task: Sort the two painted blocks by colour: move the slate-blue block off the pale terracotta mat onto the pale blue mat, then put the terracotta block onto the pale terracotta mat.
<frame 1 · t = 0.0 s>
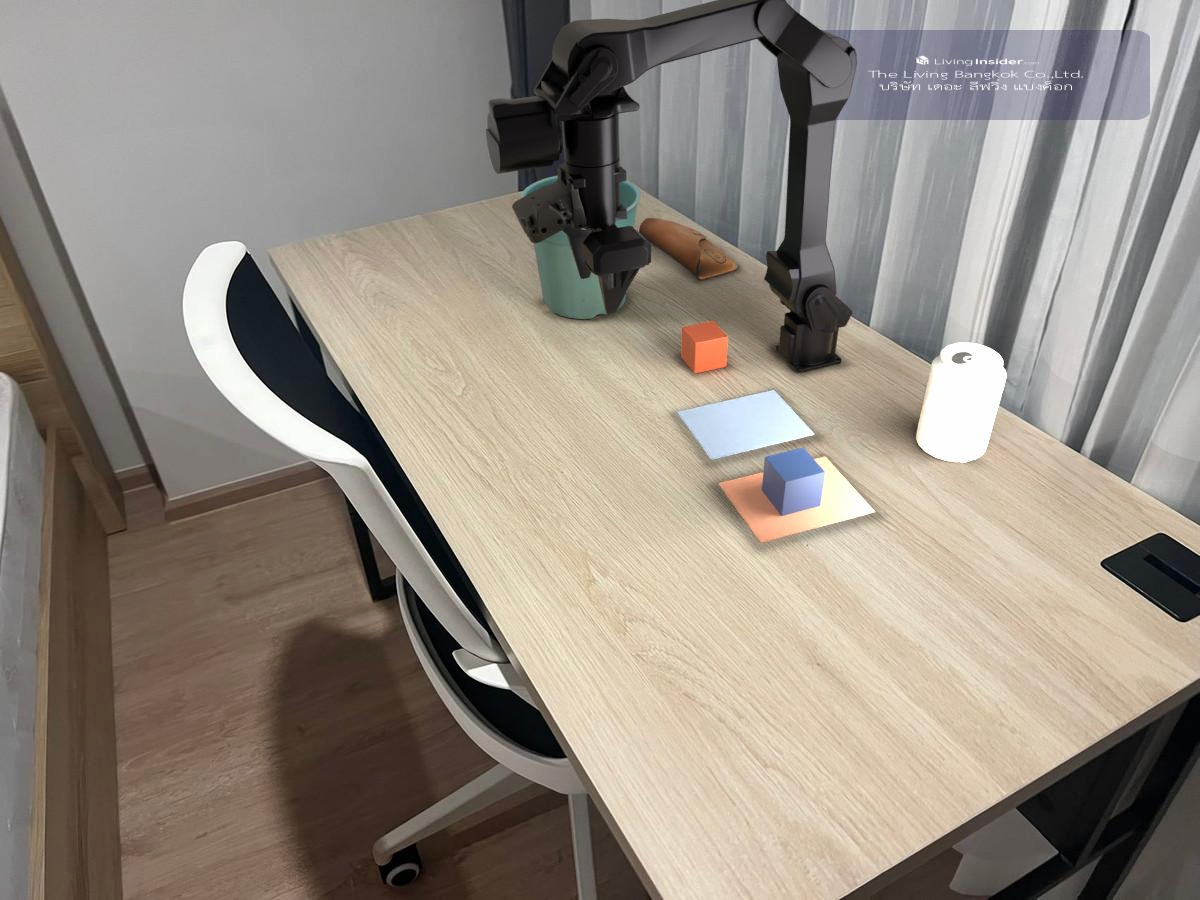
hand: (597, 295, 102), 15 cm above the table, tool pointing down, fingers open, 9 cm apart
blue mat: (743, 426, 105), on the table
sunglasses case: (687, 255, 143), on the table
can: (948, 448, 101), on the table
flower pot: (585, 301, 132), on the table
terracotta mat: (794, 501, 94), on the table
blue block: (790, 497, 94), point 1 cm above the table, touching terracotta mat
terracotta block: (703, 361, 117), on the table
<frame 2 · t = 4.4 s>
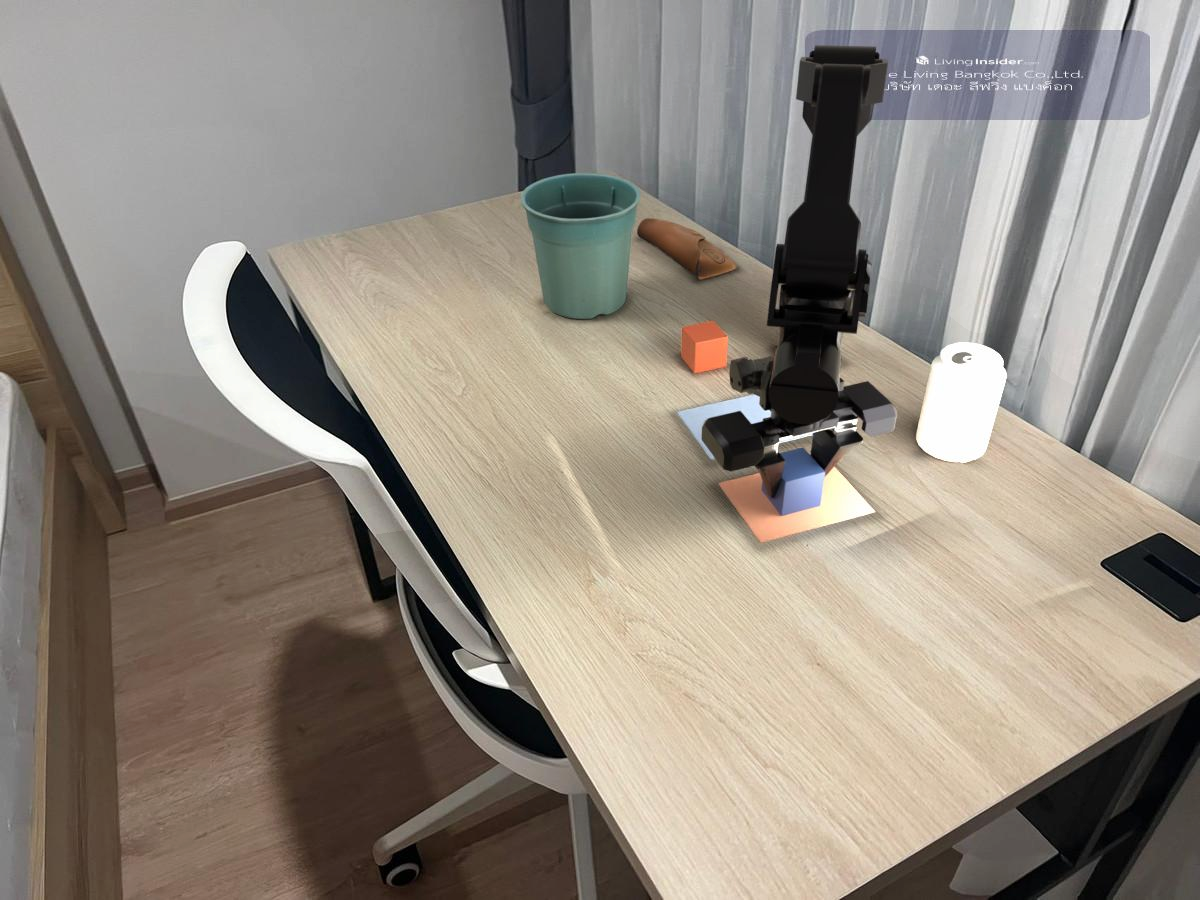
hand: (791, 490, 93), 2 cm above the table, tool pointing down, fingers closed on blue block, 4 cm apart
blue block: (790, 498, 94), point 1 cm above the table, touching gripper, terracotta mat
everything else where it was.
when the fingers open (2 cm above the table, at t = 9.5 s): blue block stays where it is, resting on blue mat.
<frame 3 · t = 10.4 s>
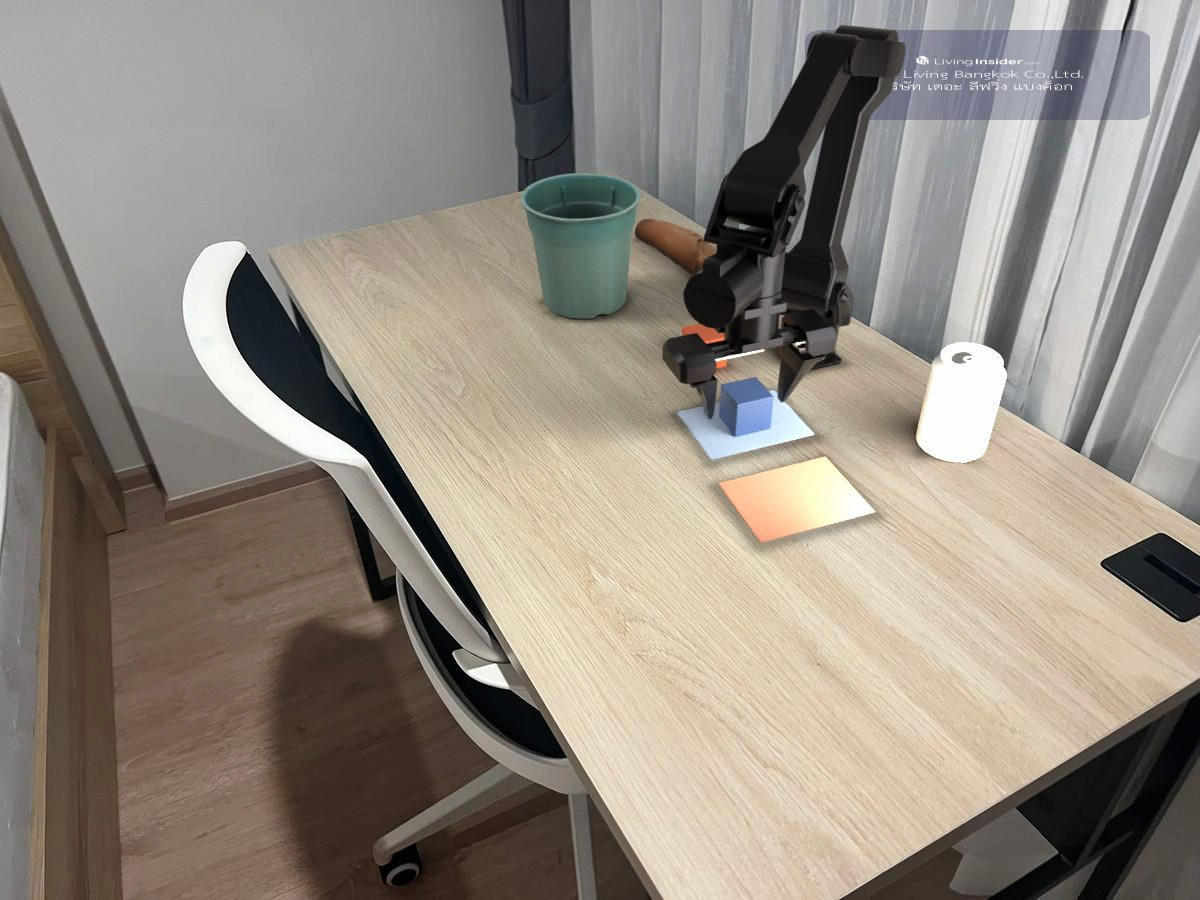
hand: (745, 408, 104), 3 cm above the table, tool pointing down, fingers open, 9 cm apart
blue block: (744, 422, 105), point 1 cm above the table, touching blue mat
everything else where it was.
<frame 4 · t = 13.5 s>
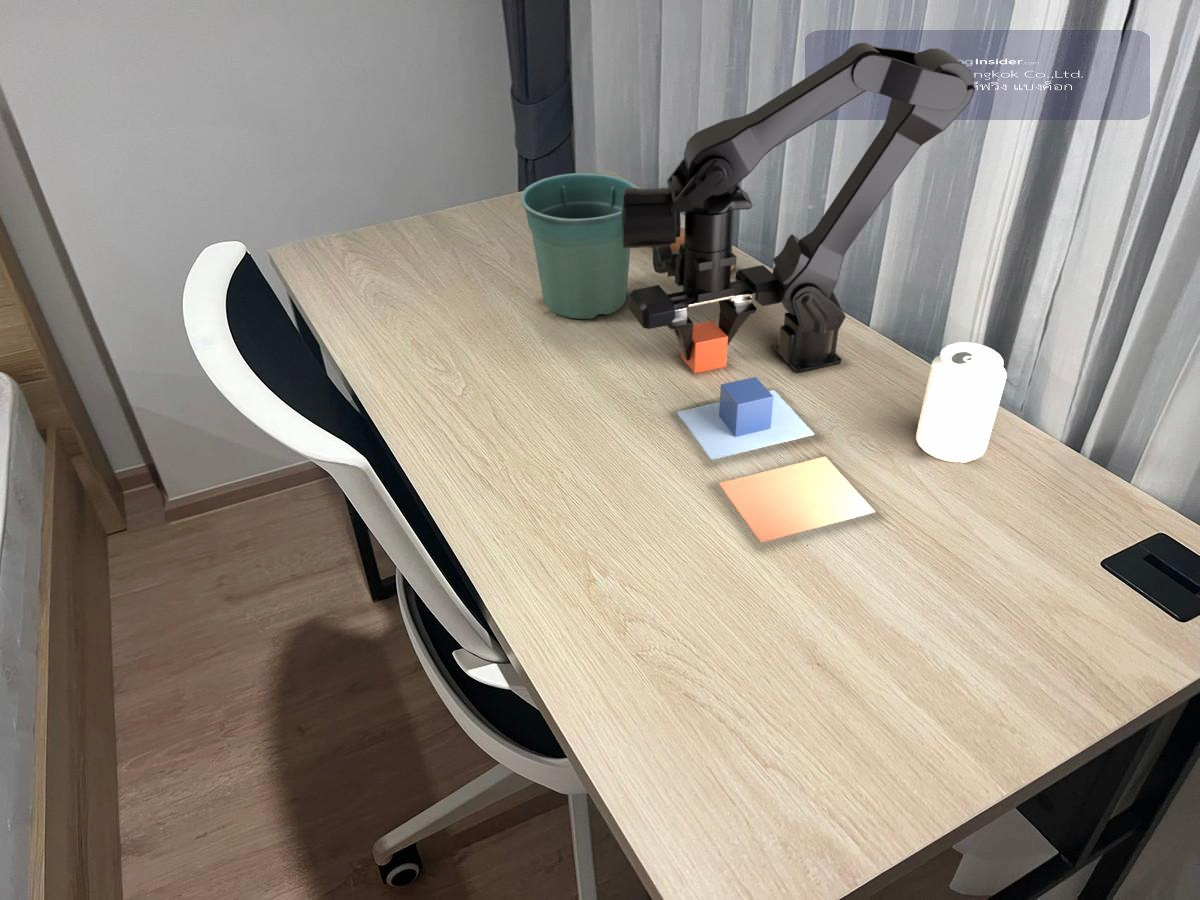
hand: (703, 355, 117), 1 cm above the table, tool pointing down, fingers closed on terracotta block, 4 cm apart
terracotta block: (703, 361, 117), on the table, touching gripper
everything else where it was.
when the fingers open (2 cm above the table, at t = 19.7 s): terracotta block stays where it is, resting on terracotta mat.
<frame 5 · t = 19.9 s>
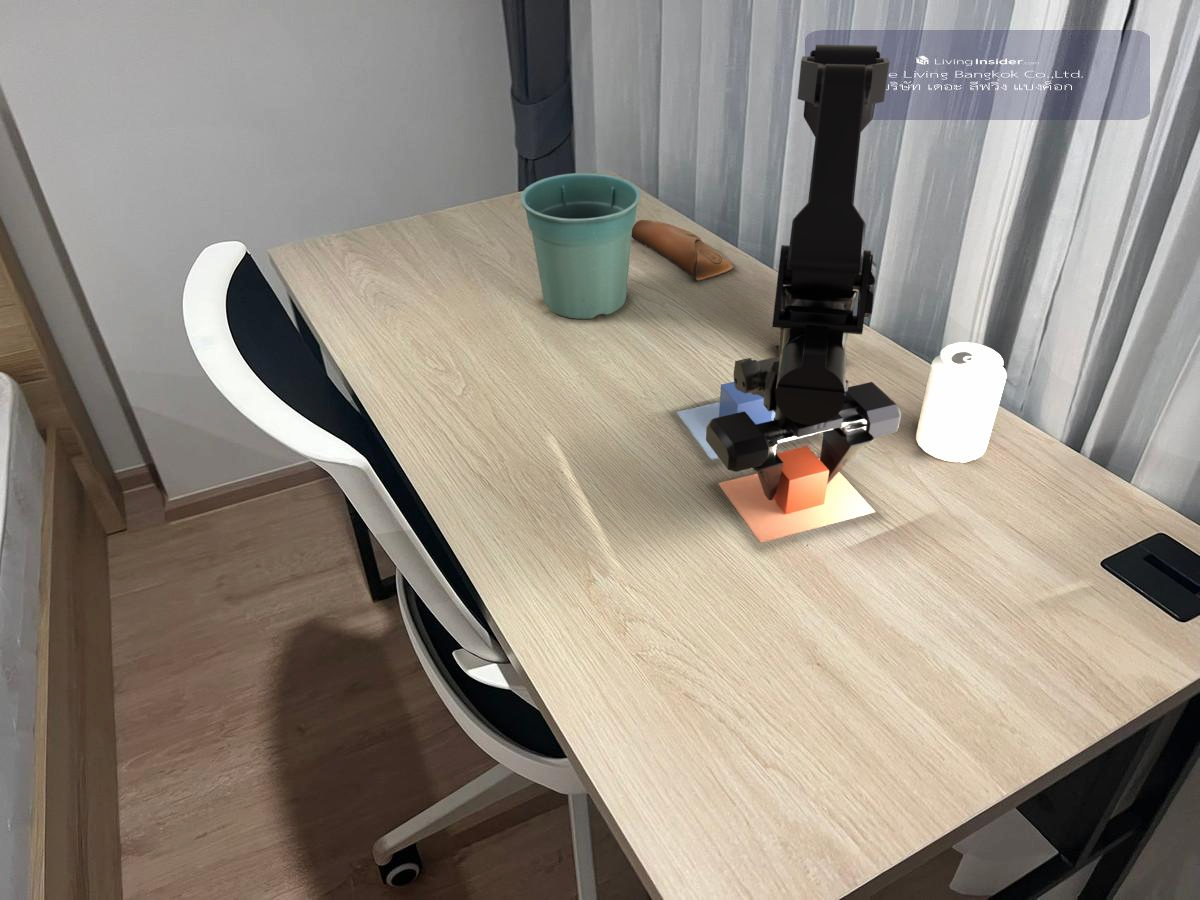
hand: (795, 490, 94), 1 cm above the table, tool pointing down, fingers open, 6 cm apart
terracotta block: (794, 496, 94), point 1 cm above the table, touching terracotta mat
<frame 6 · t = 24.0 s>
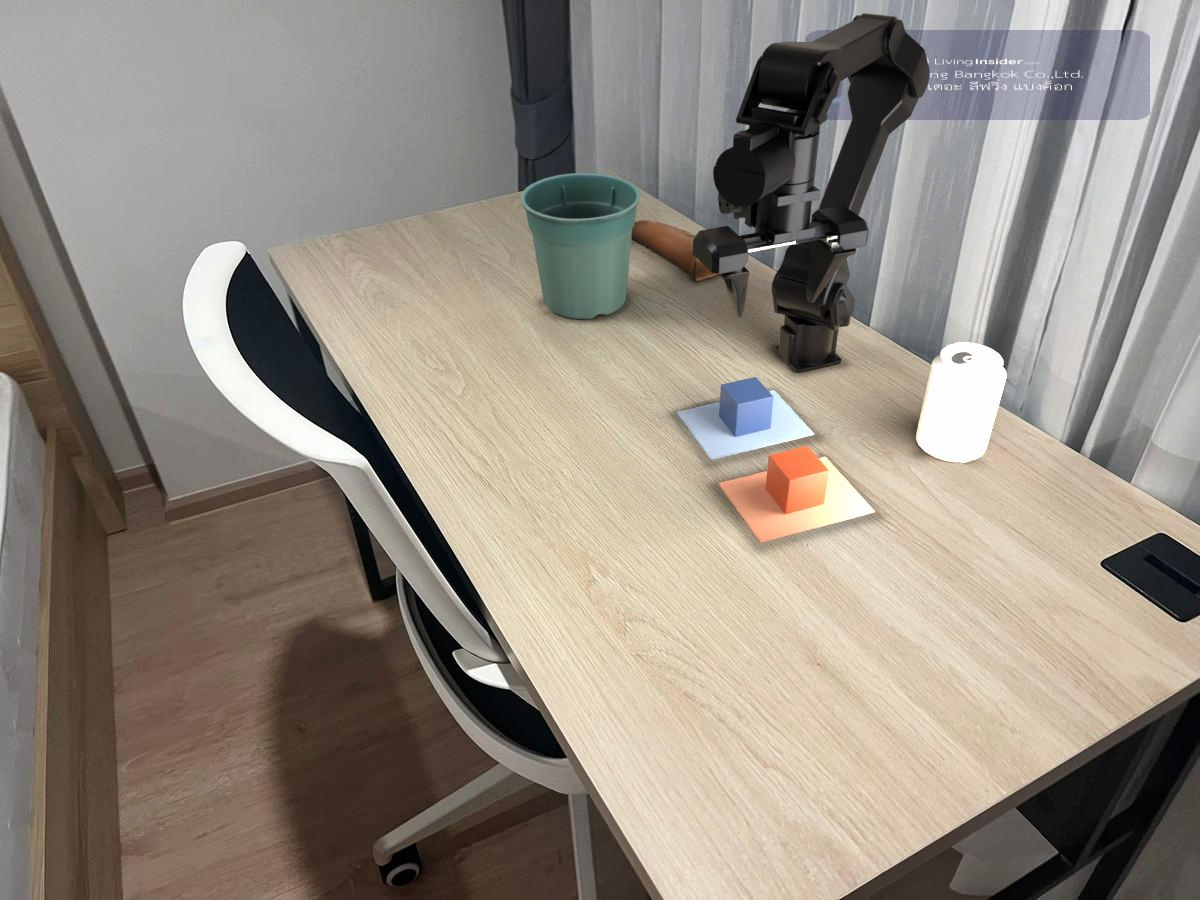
hand: (774, 308, 103), 12 cm above the table, tool pointing down, fingers open, 9 cm apart
at the end: blue block inside the target area on the blue mat (0.0 cm from its centre), point 0.6 cm above the blue mat's base; terracotta block inside the target area on the terracotta mat (0.1 cm from its centre), point 0.6 cm above the terracotta mat's base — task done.
